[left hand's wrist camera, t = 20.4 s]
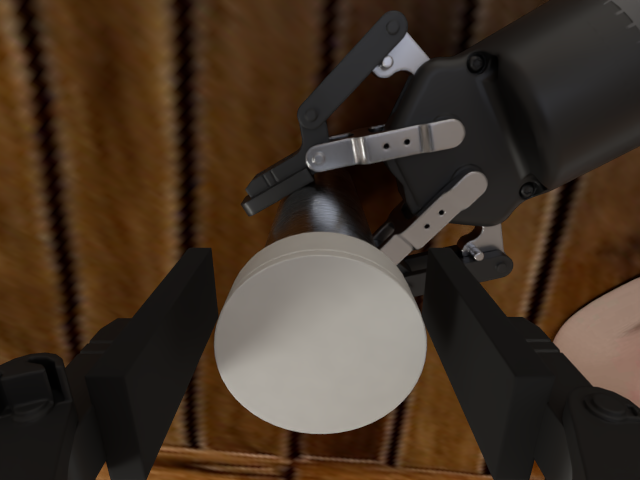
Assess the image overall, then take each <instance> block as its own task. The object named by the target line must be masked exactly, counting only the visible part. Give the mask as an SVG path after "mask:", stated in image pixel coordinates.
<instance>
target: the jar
mask: <svg viewBox="0 0 640 480" xmlns="http://www.w3.org/2000/svg"><path fill="white" fill-rule="evenodd" d="M309 232H333V233H340V234H344V235H348V236H352V237H355V238H358V239H360V240H362V241H365V242H367V243H369V244H370V245H372V246H374V247H376V245H375V243H374V240H373V237H372V234H371V231H370V228H369V225H368V222H367V220H366V217H365V214H364V211H363V208H362V205H361V202H360V200H359V197H358V194H357V191H356V188H355V185H354V182H353V180H352V178H351V176H350V174H349V173H348V171H347V170H346V169H345V168H344V167H341V168H337V169H332V170H327V171H322V172H317V173H316V174H314V181H312V182H311V183H309V184H307V185H305V186H304V187H302V188H300V189H298V190H296V191H295V192H293V193H291V194H290V195H288V196H286V197H284V198H283V199H281V202H280V205H279V207H278V210H277V213H276V216H275V219H274V222H273V225H272V228H271V230H270V233H269V236H268V239H267V242H266V245H265V247H267V246H269V245H270V244H272V243H274V242H276V241H278V240H281V239H284V238H286V237H289V236H293V235H297V234H301V233H309Z"/></svg>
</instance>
